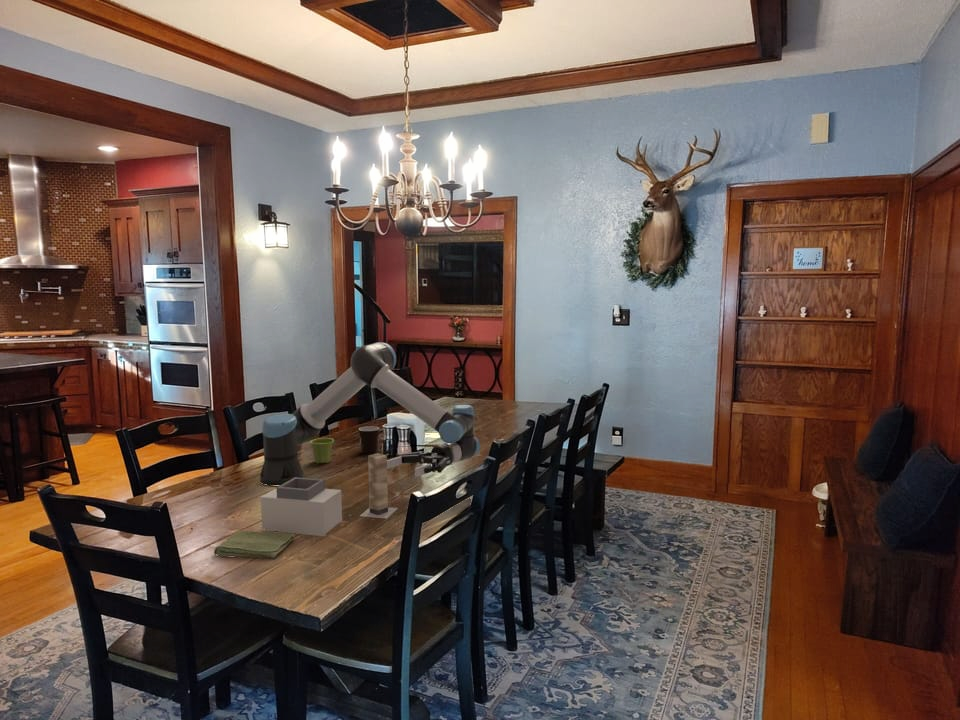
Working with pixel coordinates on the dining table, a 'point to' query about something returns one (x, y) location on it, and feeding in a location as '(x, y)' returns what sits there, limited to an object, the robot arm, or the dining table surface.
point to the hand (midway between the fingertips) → (400, 468)
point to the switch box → (302, 507)
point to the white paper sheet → (384, 515)
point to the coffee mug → (369, 439)
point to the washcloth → (254, 544)
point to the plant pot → (322, 449)
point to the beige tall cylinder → (378, 484)
